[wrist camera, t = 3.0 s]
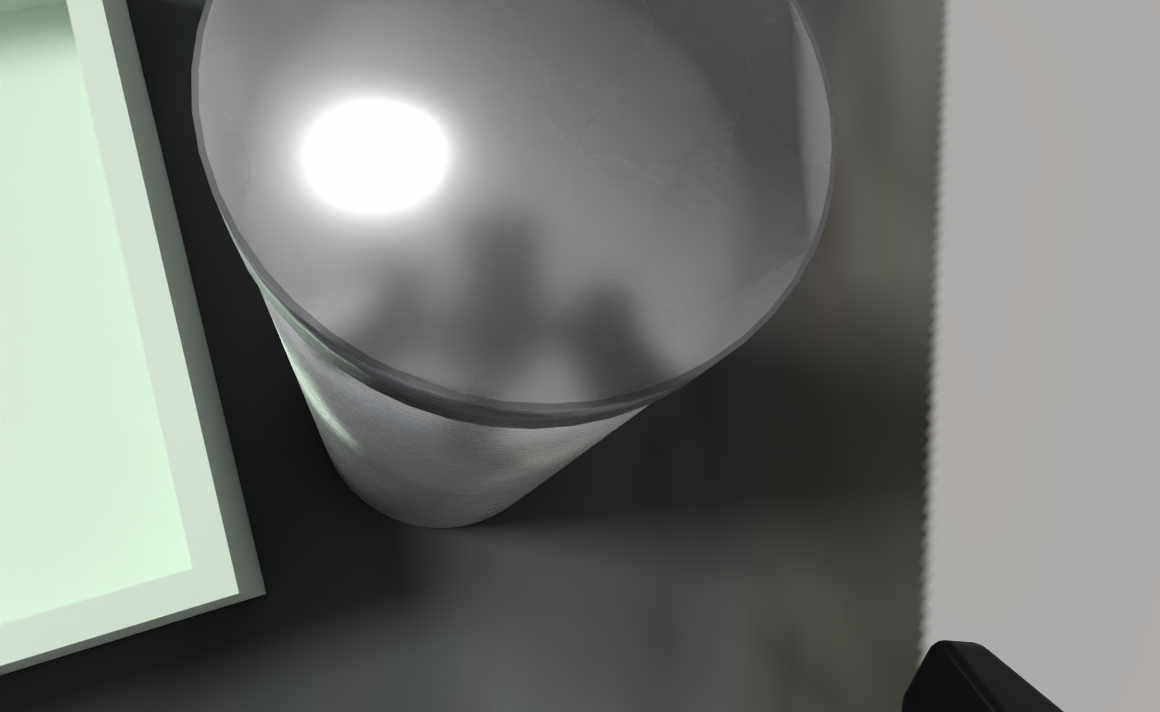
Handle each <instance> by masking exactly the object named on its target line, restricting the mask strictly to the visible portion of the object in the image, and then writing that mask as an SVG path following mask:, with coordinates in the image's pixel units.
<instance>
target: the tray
mask: <svg viewBox="0 0 1160 712" xmlns="http://www.w3.org/2000/svg"><path fill="white" fill-rule="evenodd" d="M264 594H266V590H265V586H264V582H263V577H262V573H261V569H260V565H259V560H258V556H257V552H256V548H255V544H254V539H253V535H252V531H251V527H250V522H249V518H248V514H247V510H246V506H245V501H244V497H243V493H242V489H241V484H240V480H239V476H238V472H237V467H236V463H235V459H234V455H233V451H232V446H231V442H230V438H229V434H228V429H227V425H226V421H225V417H224V413H223V408H222V404H221V400H220V396H219V391H218V387H217V383H216V379H215V375H214V370H213V366H212V362H211V358H210V353H209V349H208V345H207V341H206V337H205V332H204V328H203V324H202V320H201V315H200V311H199V307H198V303H197V298H196V294H195V290H194V286H193V282H192V277H191V273H190V269H189V265H188V260H187V256H186V252H185V248H184V244H183V239H182V235H181V231H180V227H179V222H178V218H177V214H176V210H175V206H174V201H173V197H172V193H171V189H170V184H169V180H168V176H167V172H166V168H165V163H164V159H163V155H162V151H161V146H160V142H159V138H158V134H157V129H156V125H155V121H154V117H153V113H152V108H151V104H150V100H149V96H148V91H147V87H146V83H145V79H144V75H143V70H142V66H141V62H140V58H139V53H138V49H137V45H136V41H135V37H134V32H133V28H132V24H131V20H130V15H129V11H128V7H127V3H126V0H0V675H3V674H7V673H10V672H13V671H16V670H20V669H23V668H26V667H29V666H33V665H36V664H39V663H42V662H46V661H49V660H52V659H55V658H59V657H62V656H65V655H69V654H72V653H75V652H78V651H82V650H85V649H88V648H91V647H95V646H98V645H101V644H104V643H108V642H111V641H114V640H117V639H121V638H124V637H127V636H131V635H134V634H137V633H140V632H144V631H147V630H150V629H153V628H157V627H160V626H163V625H166V624H170V623H173V622H176V621H179V620H183V619H186V618H189V617H192V616H196V615H199V614H202V613H206V612H209V611H212V610H215V609H219V608H222V607H225V606H228V605H232V604H235V603H238V602H241V601H245V600H248V599H251V598H254V597H258V596H261V595H264Z"/></svg>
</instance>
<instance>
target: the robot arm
mask: <svg viewBox="0 0 1160 712" xmlns="http://www.w3.org/2000/svg"><path fill="white" fill-rule="evenodd" d="M902 712H1063V711H1062V710H1061V709H1060V708H1058V707H1057V706H1056V705H1055V704H1053V703H1052V702H1051V701H1050V700H1049V699H1047V698H1046V697H1045V696H1044V695H1043V694H1041V693H1040V692H1039V691H1038V690H1036V689H1035V688H1034V687H1033V686H1031V685H1030V684H1029V683H1028V682H1027V681H1025V680H1024V679H1023V678H1022V677H1021V676H1019V675H1018V674H1017V673H1016V672H1015V671H1013V670H1012V669H1011V668H1010V667H1008V666H1007V665H1006V664H1005V663H1004V662H1002V661H1001V660H1000V659H999V658H998V657H996V656H995V655H994V654H992V653H991V652H990V651H989V650H988V649H986V648H985V647H984V646H981V645H980V644H977V643H973V642H960V641H946V640H943V641H938V642H937V643H935V644H934V645H932V646H931V648H930V649H929V651H928V652H927V654H926V656H925V658H924V660H923V662H922V663H921V665H920V667H919V669H918V671H917V672H916V674H915V676H914V678H913V680H912V682H911V683H910V685H909V687H908V689H907V691H906V693H905V695H904V698H903V702H902Z"/></svg>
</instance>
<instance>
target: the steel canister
mask: <svg viewBox="0 0 1160 712" xmlns="http://www.w3.org/2000/svg"><path fill="white" fill-rule="evenodd" d="M191 82H192V114H193V120H194V126H195V132H196V138H197V144H198V150H199V154H200V157H201V160H202V163H203V166H204V169H205V172H206V176H207V179H208V182H209V185H210V188H211V191H212V194H213V196H214V198H215V201H216V203H217V205H218V208H219V210H220V212H221V215H222V217H223V219H224V221H225V224H226V226H227V228H228V231H229V233H230V235H231V237H232V239H233V241H234V243H235V245H236V247H237V249H238V251H239V253H240V255H241V257H242V259H243V261H244V263H245V265H246V267H247V269H248V271H249V273H250V274H251V276H252V277H253V279H254V280H255V282H256V283H257V284H258V286H259V288H260V291H261V293H262V296H263V298H264V300H265V303H266V305H267V308H268V310H269V313H270V315H271V317H272V320H273V322H274V325H275V327H276V329H277V332H278V334H279V337H280V339H281V341H282V344H283V346H284V349H285V351H286V353H287V356H288V358H289V361H290V363H291V366H292V368H293V370H294V373H295V375H296V378H297V380H298V382H299V385H300V387H301V390H302V392H303V394H304V397H305V399H306V402H307V404H308V406H309V409H310V411H311V414H312V416H313V418H314V421H315V423H316V426H317V428H318V431H319V433H320V435H321V438H322V440H323V443H324V445H325V447H326V450H327V452H328V455H329V457H330V459H331V461H332V463H333V465H334V467H335V469H336V470H337V472H338V473H339V475H340V476H341V478H342V479H343V481H344V482H345V483H346V484H347V485H348V486H349V488H350V489H351V490H352V491H353V492H354V493H355V494H356V495H357V496H358V497H359V498H361V499H362V500H363V501H364V502H365V503H367V504H368V505H369V506H371V507H372V508H374V509H376V510H377V511H379V512H380V513H382V514H384V515H386V516H388V517H391V518H393V519H395V520H397V521H401V522H404V523H407V524H410V525H415V526H421V527H427V528H452V527H461V526H465V525H470V524H474V523H478V522H480V521H483V520H485V519H488V518H491V517H493V516H495V515H497V514H498V513H500V512H502V511H504V510H506V509H507V508H508V507H510V506H511V505H513V504H514V503H515V502H517V501H518V500H520V499H521V498H522V497H524V496H525V495H526V494H528V493H529V492H531V491H532V490H533V489H535V488H536V487H537V486H539V485H540V484H541V483H543V482H544V481H546V480H547V479H548V478H550V477H551V476H552V475H554V474H555V473H556V472H558V471H559V470H561V469H562V468H563V467H565V466H566V465H567V464H569V463H570V462H572V461H573V460H574V459H576V458H577V457H578V456H580V455H581V454H582V453H584V452H585V451H587V450H588V449H589V448H591V447H592V446H593V445H595V444H596V443H597V442H599V441H600V440H602V439H603V438H604V437H606V436H607V435H608V434H610V433H611V432H613V431H614V430H615V429H617V428H618V427H619V426H621V425H622V424H623V423H625V422H626V421H628V420H629V419H630V418H632V417H633V416H634V415H636V414H637V413H639V412H640V411H641V410H643V409H644V408H645V407H647V406H648V405H649V404H651V403H653V402H655V401H657V400H659V399H661V398H663V397H665V396H667V395H668V394H670V393H672V392H674V391H676V390H678V389H680V388H682V387H683V386H685V385H686V384H688V383H689V382H690V381H692V380H693V379H695V378H696V377H697V376H699V375H700V374H702V373H703V372H704V371H706V370H707V369H709V368H710V367H712V366H713V365H714V364H716V363H717V362H719V361H720V360H721V359H723V358H724V357H725V356H727V355H728V354H730V353H731V352H732V351H734V350H735V349H737V348H738V347H739V346H741V345H742V344H743V343H745V342H746V341H747V340H748V339H749V338H750V337H751V336H752V335H753V334H754V333H755V332H756V331H757V330H759V329H760V328H761V327H762V326H763V325H764V324H765V323H766V322H767V321H768V320H769V319H770V318H771V317H772V316H773V315H774V314H775V312H776V311H777V310H778V308H779V307H780V306H781V305H782V303H783V302H784V301H785V299H786V298H787V297H788V295H789V294H790V293H791V291H792V290H793V289H794V287H795V286H796V285H797V283H798V281H799V279H800V278H801V276H802V274H803V272H804V270H805V269H806V267H807V265H808V263H809V261H810V259H811V258H812V256H813V254H814V252H815V249H816V247H817V244H818V241H819V239H820V236H821V233H822V231H823V228H824V225H825V222H826V220H827V216H828V211H829V207H830V202H831V197H832V193H833V188H834V183H835V170H836V156H837V139H836V123H835V111H834V106H833V101H832V95H831V90H830V85H829V80H828V76H827V73H826V70H825V67H824V64H823V61H822V58H821V55H820V52H819V49H818V46H817V43H816V40H815V38H814V36H813V34H812V32H811V30H810V28H809V26H808V23H807V21H806V19H805V17H804V15H803V13H802V11H801V9H800V7H799V6H798V4H797V2H796V1H795V0H206V3H205V6H204V9H203V12H202V15H201V18H200V22H199V25H198V28H197V34H196V41H195V47H194V54H193V61H192V68H191Z"/></svg>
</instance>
